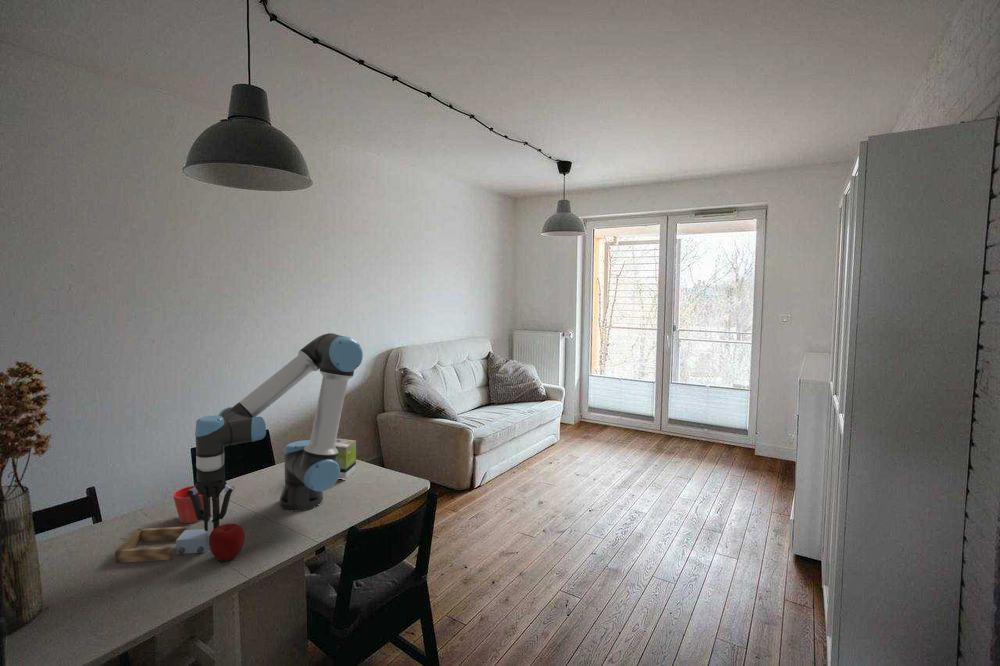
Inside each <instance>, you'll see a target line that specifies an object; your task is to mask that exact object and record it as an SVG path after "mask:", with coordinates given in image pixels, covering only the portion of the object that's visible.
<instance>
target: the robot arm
mask: <svg viewBox="0 0 1000 666" xmlns="http://www.w3.org/2000/svg"><path fill="white" fill-rule="evenodd" d="M363 353H364V352H363V349H362V346H361V345H360V343H359V342H358V341H356V340H355V339H353V338H351V337H350V336H345V335H340V334H336V333H334V332H333V333H331V332H330V333H329V332H328V333H324V334H321V335H319V336H317V337H316V338H314V339H313V340H311V341H310V342H309V343H307V344H306V345H305V346H303V347H302V348H301V349H299V350H298V352H297V355H296V356H295V357H294V358H293V359H291V360H290V361H289V362H288V363H287V364H286V365H284V366H283V367H282V368H280V369H279V370H278V371H276V372H275V373H274V374H273V375H271V376H270V377H269V378H268V379H267V380H265V381H264V382H262V383H261V384H260V385H259V386H258V387H256V388H255V389H254V390H252V391H251V392H250V393H249V394H247V395H246V396H245V397H244V398H242V399H240V401H239V402H237V403H236V404H235V405H233V406H230V407H229V406H228V407H226V408H223V409H221V411H220V412H219V413H218V415H206V416H202V417H200V418H198V419H197V420H196V422H195V431H194V432H195V433H194V435H195V458H196V459H195V460H196V461H195V462H196V463H195V467H196V470H195V471H196V483H195V485H194V486H195V487H194V488H191V489H190V490H189V491H188V492H187V494H188V495H189V497H190V498H191V500H192V503H193V507H194V510H195V513H196V516H197V519H198V520H200V521H203V523H204V528H203V529H205V531H208V542H209V536H210V534H211V532H212V531H213V530H214V529H215V528H216V527H218V526H220V520H223V519H224V517H225V516H226V515H227V511H228V507H229V503H230V500H231V495H232V493H233V492H234V490H235V486H233V485H230V486H229V485H228V483H227V481H226V478H225V477H226V476H225V475H226V474H225V473H226V472H225V468H226V467H225V447H227V446H233V445H238V444H239V445H240V444H245V443H250V442H256V441H260V440H263V439H264V438H265V437H266V435H267V426H266V424H267V423H266V421H265V419H264V418H263V417H262V416H259V415H260V414H261V413H263V412H264V411H265V410H266V409H267V408H269V407H270V406H271V405H273V403H275V402H276V401H277V400H278V399H280V398H281V397H282V396H283V395H284V394H286V393H287V392H289V391H290V390H291V389H292V388H293V387H294V386H296V385H297V384H299V383H300V382H301V381H302V380H303V379H305V377H306V376H308V375H309V374H311V373H312V372H317V371H318V370H319V373H320V374H321V375H322V379H321V385H320V390H319V394H318V400H317V405H316V410H315V415H314V420H313V425H312V429H311V435H310V439H308V440H306V439H304V440H296V441H294V442H293V441H292V442H290V443H288V444H286V445H285V447H284V453H283V456H284V486H283V488H282V491H281V493H280V494H281V495H280V498H279V506H280V508H281V509H283V510H286V511H290V510H293V511H292V512H296V511H295V510H301V511H306V510H305V509H307V510H310V509H309V508H311V509H313V508H312V507H314V506H316V505H318V504H320V503H321V502H322V500H323V501H324V494H323V493H324V492H325V491H326V490H329V489H330V488H331V487H333V486H335V484H336V483H337V481H339V480H338V478H339V475H340V467H339V465H338V463H337V462H336V461H337V456H338V450H337V449H336V447H335V443H336V438H338V431H339V427H340V424H341V423H340V421H341V415H342V412H343V406H344V402H345V397H346V391H347V386H348V382H349V380H350V379H353V377H354V375H355V374H354V373H355V370H357V368H359V367H360V365H361V364H362V361H363V357H364V354H363ZM223 490H224V497H223V500H222V504H221V506H220V496H221V493H222V491H223ZM198 492H199V493H200V494H201V495H202V496H203V508H202V505H201V502H200V498H199V495H198ZM211 501H212V505H211ZM322 503H323V502H322ZM322 503H321V504H322ZM321 504H320V505H321ZM211 506H212V507H211ZM318 506H319V505H318ZM220 507H221V509H220ZM316 507H317V506H316ZM211 508H212V512H211ZM314 508H315V507H314ZM211 513H212V514H211ZM211 517H212V518H211Z"/></svg>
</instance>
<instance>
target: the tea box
mask: <svg viewBox="0 0 1000 666" xmlns="http://www.w3.org/2000/svg"><path fill="white" fill-rule="evenodd" d="M335 447H336V449H337V450H338V456H337V461H336V462H337V463H338V465H339V467H340V475H339V478H346V477H348V476H349V475H350V474H351V473H352V472H353V471H355V470H356V471H357V469H356V468H357V465H356V464H357V440H354V439H347V438H338V437H337V438H336V443H335Z"/></svg>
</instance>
